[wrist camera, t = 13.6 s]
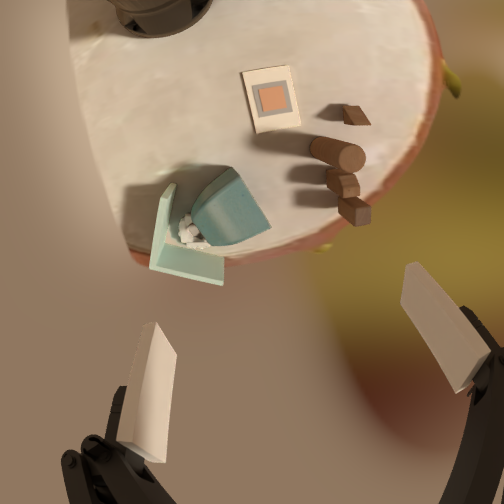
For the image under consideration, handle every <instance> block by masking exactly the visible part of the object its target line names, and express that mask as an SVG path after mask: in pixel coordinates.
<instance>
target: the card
mask: <svg viewBox="0 0 504 504" xmlns="http://www.w3.org/2000/svg"><path fill="white" fill-rule="evenodd" d="M242 74H243V78H244V82H245V86H246V91H247V95H248V99H249V103H250V108H251V112H252V116H253V121H254V125H255V129H256V134H258V133H263V132H268V131H273V130H278V129H284V128H290V127H296V126H301V122H300V116H299V111H298V106H297V101H296V96H295V92H294V87H293V82H292V78H291V73H290V69H289V65H286V66H278V67H271V68H265V69H258V70H253V71H247V72H242Z"/></svg>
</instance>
